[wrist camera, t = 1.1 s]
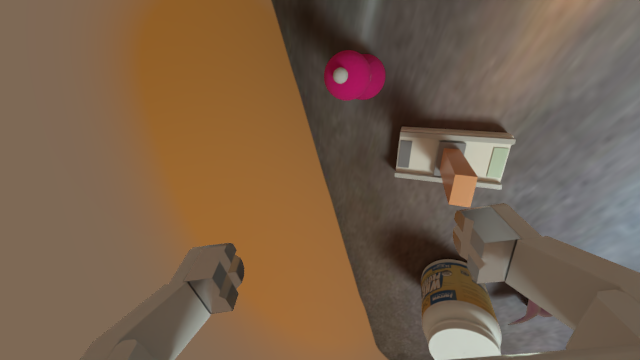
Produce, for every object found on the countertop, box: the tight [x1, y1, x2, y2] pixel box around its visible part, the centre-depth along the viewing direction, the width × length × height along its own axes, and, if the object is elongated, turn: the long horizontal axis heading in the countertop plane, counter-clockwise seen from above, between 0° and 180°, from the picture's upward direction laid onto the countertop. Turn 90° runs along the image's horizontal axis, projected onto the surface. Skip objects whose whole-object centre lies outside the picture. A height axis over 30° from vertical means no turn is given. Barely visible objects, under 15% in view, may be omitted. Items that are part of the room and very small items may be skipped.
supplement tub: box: [421, 259, 501, 360], centre depth 47 cm, size 12×12×17 cm
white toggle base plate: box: [395, 126, 516, 190], centre depth 44 cm, size 17×9×4 cm, turn 90°
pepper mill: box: [324, 50, 385, 100], centre depth 38 cm, size 7×7×20 cm
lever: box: [433, 141, 478, 207], centre depth 37 cm, size 4×6×15 cm, turn 0°
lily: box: [508, 299, 553, 325], centre depth 46 cm, size 12×12×10 cm
